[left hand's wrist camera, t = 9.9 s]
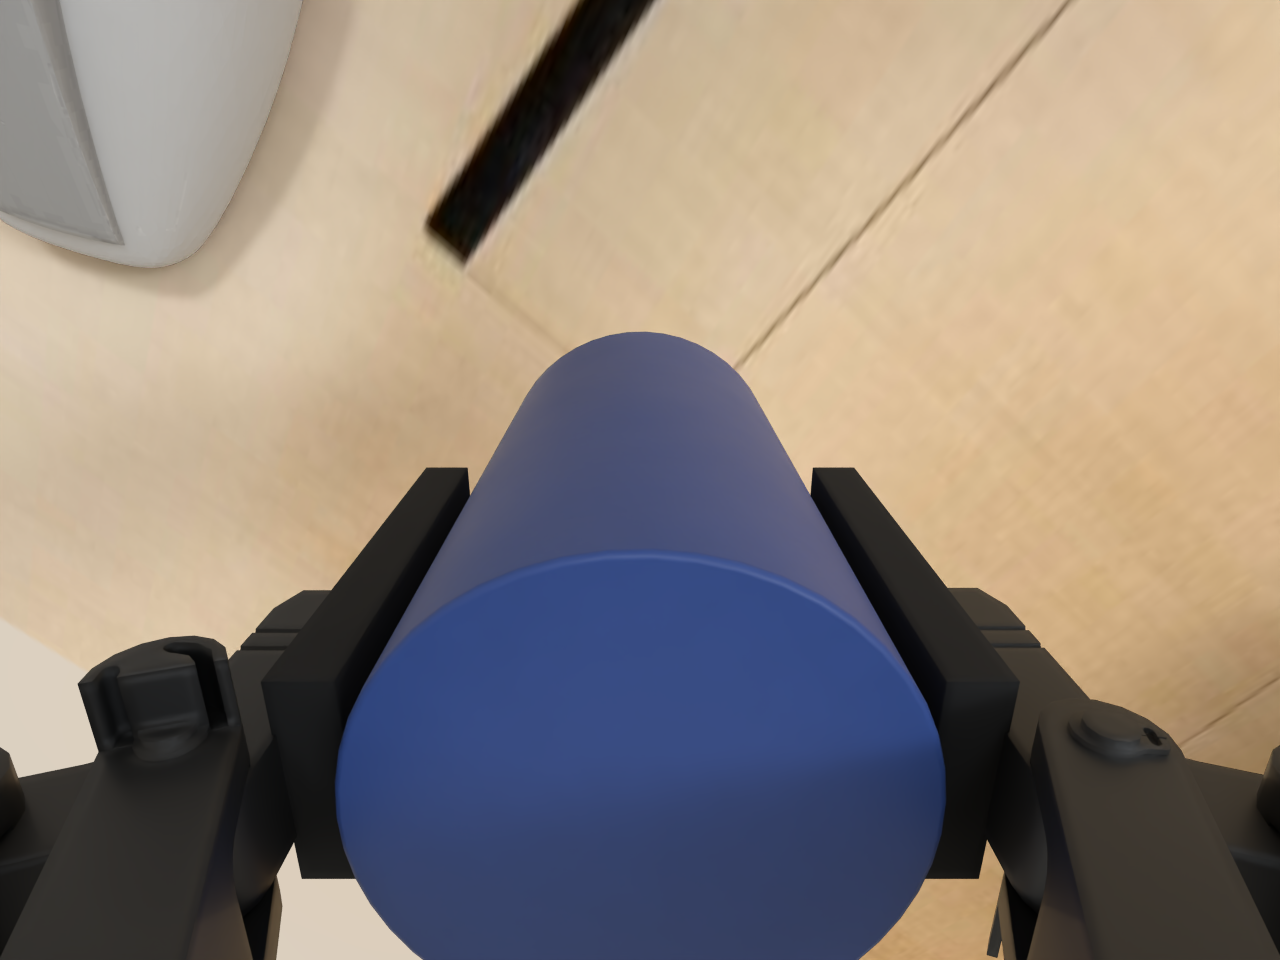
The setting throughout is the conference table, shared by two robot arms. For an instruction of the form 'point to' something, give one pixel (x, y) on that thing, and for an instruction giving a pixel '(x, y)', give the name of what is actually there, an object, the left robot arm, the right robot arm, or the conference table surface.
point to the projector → (133, 118)
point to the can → (640, 697)
